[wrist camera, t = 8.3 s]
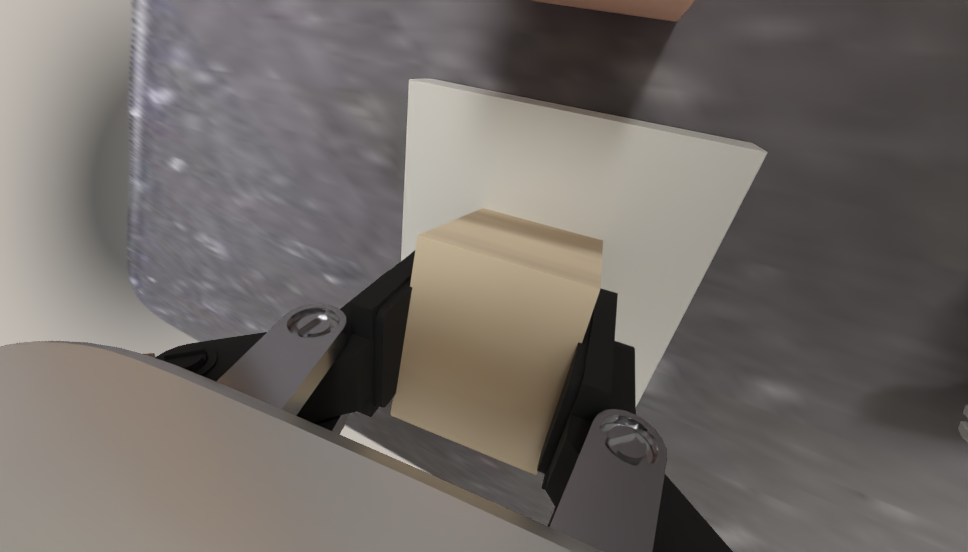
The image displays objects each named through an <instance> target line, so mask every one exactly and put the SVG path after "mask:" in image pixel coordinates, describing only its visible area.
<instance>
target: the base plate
mask: <svg viewBox="0 0 968 552" xmlns="http://www.w3.org/2000/svg"><path fill="white" fill-rule="evenodd" d="M767 153H768V152H766V151H765V150H763V149H762V148H760V147H758V146H757V145H755V144H753V143H750V142H745V141H740V140H735V139H730V138H725V137H720V136H715V135H710V134H705V133H700V132H695V131H690V130H685V129H680V128H675V127H670V126H665V125H660V124H655V123H650V122H645V121H640V120H635V119H630V118H625V117H620V116H615V115H610V114H605V113H600V112H595V111H590V110H585V109H580V108H575V107H570V106H565V105H560V104H555V103H550V102H545V101H540V100H535V99H531V98H526V97H521V96H516V95H511V94H506V93H501V92H496V91H491V90H486V89H481V88H476V87H471V86H466V85H461V84H456V83H451V82H446V81H441V80H436V79H409V92H408V114H407V137H406V159H405V182H404V204H403V226H402V249H401V261H402V260H403V259H405V258H406V257H407V256H408V255H410V254H411V253H412V252H413V251H415V250H416V243H417V236H418V235H419V234H421V233H424V232H426V231H428V230H431V229H433V228H436V227H438V226H441V225H443V224H445V223H448V222H450V221H453V220H455V219H457V218H460V217H462V216H465V215H467V214H470V213H472V212H474V211H477V210H479V209H482V208H484V209H488V210H492V211H495V212H499V213H503V214H506V215H510V216H514V217H518V218H521V219H525V220H529V221H532V222H536V223H540V224H543V225H547V226H551V227H555V228H558V229H562V230H566V231H569V232H573V233H577V234H580V235H584V236H588V237H592V238H595V239H599V240H603V250H602V269H601V289H605V290H608V291H611V292H615V293H618V298H617V312H616V327H615V341H617V342H620V343H623V344H626V345H629V346H632V347H634V348H635V396H636V406H637V404H638V403H639V401H640V399H641V397H642V395H643V393H644V391H645V389H646V387H647V385H648V383H649V381H650V379H651V377H652V375H653V374H654V372H655V370H656V368H657V366H658V364H659V362H660V360H661V358H662V356H663V354H664V352H665V350H666V348H667V346H668V344H669V343H670V341H671V339H672V337H673V335H674V333H675V331H676V329H677V327H678V325H679V323H680V321H681V319H682V317H683V315H684V314H685V312H686V310H687V308H688V306H689V304H690V302H691V300H692V298H693V296H694V294H695V292H696V290H697V288H698V286H699V284H700V283H701V281H702V279H703V277H704V275H705V273H706V271H707V269H708V267H709V265H710V263H711V261H712V259H713V257H714V255H715V254H716V252H717V250H718V248H719V246H720V244H721V242H722V240H723V238H724V236H725V234H726V232H727V230H728V228H729V226H730V224H731V223H732V221H733V219H734V217H735V215H736V213H737V211H738V209H739V207H740V205H741V203H742V201H743V199H744V197H745V195H746V194H747V192H748V190H749V188H750V186H751V184H752V182H753V180H754V178H755V176H756V174H757V172H758V170H759V168H760V166H761V164H762V163H763V161H764V159H765V157H766V155H767Z"/></svg>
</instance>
